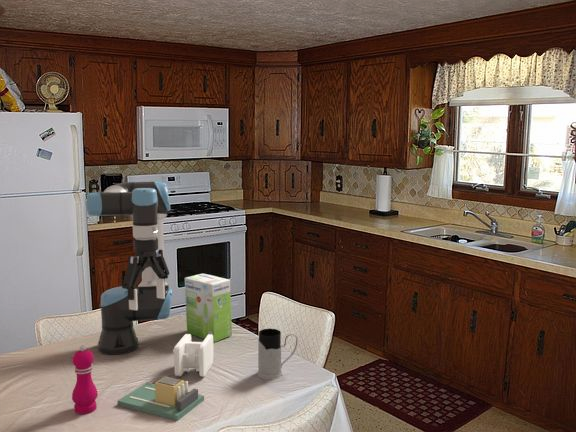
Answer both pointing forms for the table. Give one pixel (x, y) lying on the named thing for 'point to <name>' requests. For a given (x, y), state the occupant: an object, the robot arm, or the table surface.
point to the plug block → (167, 390)
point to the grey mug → (270, 353)
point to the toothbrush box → (208, 306)
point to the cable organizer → (193, 355)
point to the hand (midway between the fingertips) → (147, 303)
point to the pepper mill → (84, 382)
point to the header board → (147, 403)
